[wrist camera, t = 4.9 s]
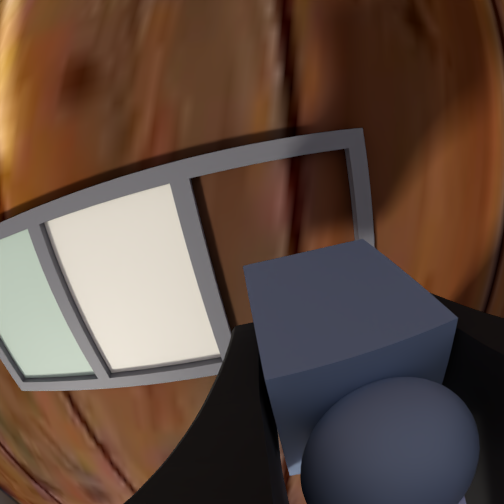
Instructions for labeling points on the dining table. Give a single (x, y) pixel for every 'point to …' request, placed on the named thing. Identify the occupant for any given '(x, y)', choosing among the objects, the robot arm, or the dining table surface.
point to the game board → (133, 273)
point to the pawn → (361, 378)
